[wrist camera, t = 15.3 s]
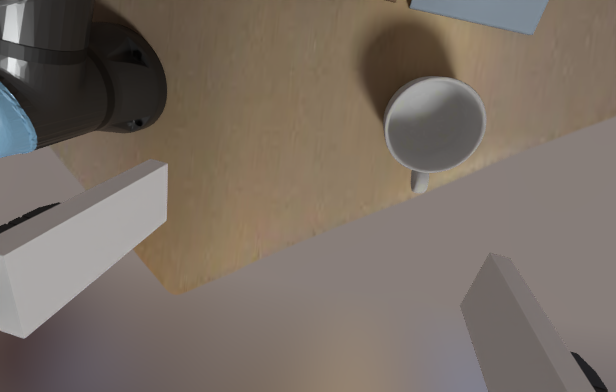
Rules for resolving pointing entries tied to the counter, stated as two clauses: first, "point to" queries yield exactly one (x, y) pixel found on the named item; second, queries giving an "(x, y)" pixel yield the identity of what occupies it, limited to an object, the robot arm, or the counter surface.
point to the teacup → (433, 126)
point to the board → (489, 12)
